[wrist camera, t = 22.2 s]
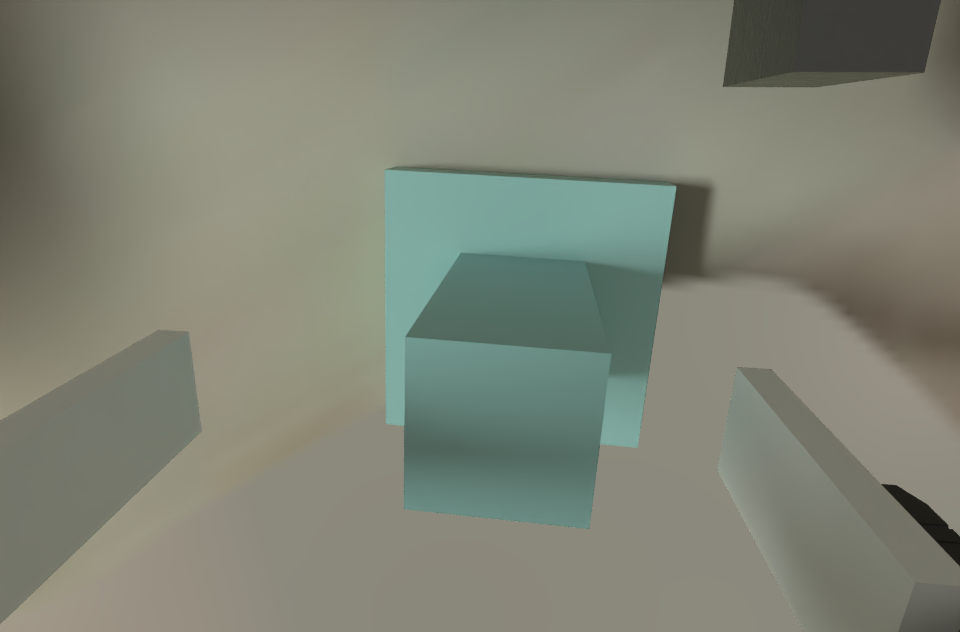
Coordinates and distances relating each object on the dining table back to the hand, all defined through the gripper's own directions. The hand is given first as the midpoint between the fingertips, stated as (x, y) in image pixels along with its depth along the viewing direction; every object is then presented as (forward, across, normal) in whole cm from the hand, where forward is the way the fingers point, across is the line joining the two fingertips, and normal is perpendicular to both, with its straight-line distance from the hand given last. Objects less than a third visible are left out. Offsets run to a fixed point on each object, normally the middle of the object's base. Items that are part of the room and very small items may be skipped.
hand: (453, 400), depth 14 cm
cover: (+7, +2, 0) cm, 8 cm away
